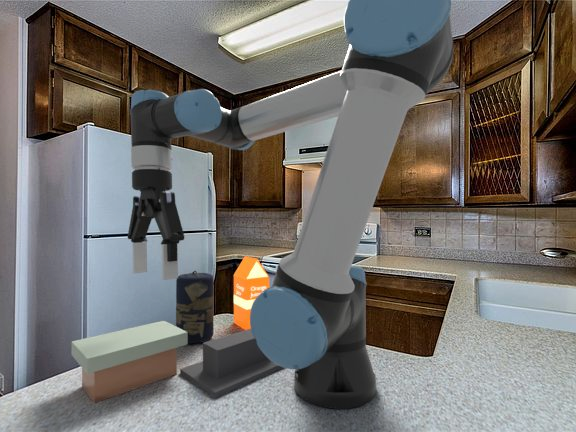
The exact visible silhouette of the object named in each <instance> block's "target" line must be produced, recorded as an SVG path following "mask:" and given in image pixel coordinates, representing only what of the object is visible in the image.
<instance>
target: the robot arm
mask: <svg viewBox="0 0 576 432" xmlns="http://www.w3.org/2000/svg"><path fill="white" fill-rule="evenodd" d="M451 8H452V0H348V2H347V5H346V8H345V12H344V15H343V27H344V33H345V38H346V40H347V43H348V44H349V46H348V49H347V53H346V56H345V59H344V61H343V66H342V68H341V70H339V71H336V72H333V73H331V74H328V75H325V76H323V77H320V78H317V79H315V80H312V81H309V82H306V83H304V84H301V85H298V86H295V87H293V88H291V89H287V90H285V91H282V92H279V93H276V94H273V95H271V96H270V95H269V96H268V97H266V98H265V97H264V98H263V99H260V100H257V101H254V102H252V103H248V104H247V105H243V106H240V107H238V108H234V109H232V110H231V109H230V110H229V109H226V108H224V107H222V106H221V104H220V101H219V100H218V98H217V97H215V95H214V93H212V92H211V91H210V90H208V89H205V88H198V89H191V90H186V91H183V92H181V93H177V94H174V95H172V96H168V94H166V93H164V92H162V91H159V90H154V89H147V90H144V89H140V90H136V91H135V92H133V94H132V95H131V100H130V101H131V102H130V104H131V105H130V109H129V115H130V139H131V148H130V157H131V158H130V159H131V161H130V162H131V163H130V164H131V168H132V170H133V171H132V172H131V188H132V189H133V190H134V191H139V192H140V195H138V196H136V195H133V197H132V211H131V215H130V219H129V222H130V223H129V227H128V232H127V239H128V240H130V241H131V242H130V243H132V274H134V275H135V274H143V273H148V249H147V248H148V247H147V246H148V245H147V242H148V239H147V234H148V231H149V229H150V225H151V222H152V220H153V219H154V220H155V222H156V225H157V228H158V231H159V232H160V235H161V237H162V240H161V243H160V245H161V269H162V270H161V273H162V277H161V278H162V281H169V280H175V279H176V280H177V278H178V276H179V265H178V262H179V260H178V259H179V258H178V244H179V243H180V242H181V241H184V240H185V233H184V229H183V226H182V223H181V220H180V215H179V211H178V208H177V204H176V194H175V192H174V191H171V190H172V189H173V173H172V172H171V171H170V170H172V167H173V166H172V161H173V159H174V158H173V156H172V139H176V138H182V137H192V138H195V139H199V140H203V141H206V142H209V143H213V144H216V145H219V146H223V147H226V148H228V149H231V150H238V151H245V150H248V149H249V148H251V146H253V144H254V143H255V141H257V140H262V139H264V138H265V139H266V138H268V137H272V136H275V135H279V134H282V133H285V132H289V131H291V130H295V129H299V128H302V127H306V126H309V125H313V124H316V123H321V122H323V121H326V120H330V119H333V118H337V120H336V123H335V126H334V129H333V131H332V135H331V138H330V140H329V144H328V147H327V149H326V153H325V156H324V158H323V162H322V165H321V169H320V171H319V173H318V177H317V180H316V182H315V183H316V184H315V186H314V189H313V192H312V195H311V198H310V201H309V205H308V207H307V210H306V214H305V216H304V219H303V223H302V225H301V228H300V232H299V234H298V238H297V241H296V243H295V247H294V250H293V252H292V253H290V254H288V255H286V256H284V257H282V258H281V259H280V260H279V263H278V266H277V269H276V272H275V275H274V278H273V281H272V284H271V286H269V288H267V289H265V290H264V291H262V292H261V294H259V295H258V296H257V298H256V299H255V300H254V302H253V304H252V307H251V311H250V327H251V331H252V334H253V336H254V337H255V339H256V341H257V345H258V347H259V348H260V350H261V351H262V352H263V354H264V355H265V356H266V357H267V358H268V359H270V360H271V361H272V362H274V363H275V364H277V365H279V366H281V367H284V368H283V369H288V370H294V375H293V378H294V379H293V381H294V382H293V383H294V390H295V392H296V393H297V394H298V396H300V398H301V399H303V400H305V401H306V402H308V403H310V404H312V405H315V406H319V407H321V408H329V409H340V410H341V409H343V410H344V409H352V408H357V407H361V406H364V405H365V404H368V403H369V402H371V401H372V400H373V399H374V398H375V396H376V394H377V379H376V374H375V372H374V370H373V369H374V368H373V365H372V362H371V359H370V356H369V353H368V352H369V351H368V350H367V337H366V336H367V328H366V326H367V324H366V323H367V322H366V321H367V318H366V316H367V315H366V314H367V310H366V309H367V307H366V306H367V305H366V304H367V302H366V301H367V300H366V296H367V295H366V294H367V293H366V291H367V288H366V287H367V281H366V272H365V270H364V269H363V267H361V266H359V265H353V262H354V259H355V257H356V254H357V251H358V249H359V246H360V242H361V239H362V237H363V234H364V233H365V229H366V227H367V224H368V220H369V217H370V216H371V212H372V209H373V207H374V204H375V201H376V198H377V196H378V192H379V190H380V188H381V185H382V183H383V179H384V176H385V173H386V171H387V168H388V166H389V162H390V159H391V157H392V154H393V151H394V150H395V146H396V143H397V140H398V138H399V136H400V133H401V130H402V126H403V124H404V121H405V118H406V115H407V113H408V111H409V110H410V109H411V108H413V107H416V106H417V105H418V104H421V103H422V102H424V100H425V98H426V96H427V94H429V92H431V91H432V90H434V89H435V88H436V87H438V85H439V84H440V83H441V82H442V80H444V78H445V77H446V75H447V74H448V72H449V70H450V67H451V65H452V62H453V58H454V52H455V49H454V48H455V47H454V46H455V44H454V39H453V31H452V24H451V22H452V21H451V14H450V13H451Z"/></svg>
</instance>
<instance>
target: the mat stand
mask: <svg viewBox="0 0 576 432" xmlns="http://www.w3.org/2000/svg"><path fill="white" fill-rule="evenodd" d="M282 369H285V368H284V367H281V366H279V365H277V364H275V363H274V362H272V361H271V360H270V359H268V358H267V357H266V356H265V355H264V354H263V352H262V351H261V350H260V348H259V347H258V345H257V341H256V339H255V337H254V336H253V334H252V331H251V328H250V329H247V330H244V329H243V330H241V331H238V332H235V333H230V334H228V335H227V334H226V335H224V336H222V337H217V338H214V339H211V340H209V341H208V340H206V341H203V342H202V361H200V362H197V363H193V364H191V365H189V366H185V367H182V368H180V369H179V373H180V375H181V376H182V377H184V378H185V379H186V380H188V381H190V382H191V383H192V384H194V385H195V386H197V387H198V388H200V389H202V390H203V391H204V392H206V394H208V395H210V396H211V397H213V398H214V399H217V398H219V397H221V396H223V395H225V394H228V393H230V392H233V391H235V390H237V389H239V388H241V387H243V386H246V385H249V384H250V383H252V382H254V381H255V382H256V380H260V379H261V378H263V377H265V376H269V375H270V374H273V373H275V372H276V371H279V370H282Z"/></svg>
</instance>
